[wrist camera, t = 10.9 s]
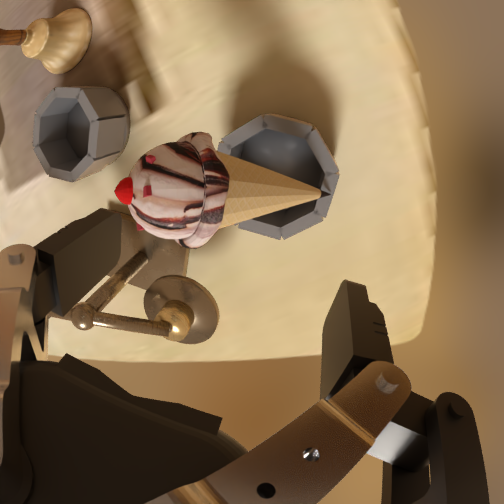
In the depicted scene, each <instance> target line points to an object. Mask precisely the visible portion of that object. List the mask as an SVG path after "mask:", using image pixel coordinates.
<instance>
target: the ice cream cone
mask: <svg viewBox="0 0 504 504" xmlns="http://www.w3.org/2000/svg"><path fill="white" fill-rule="evenodd" d="M114 192H115V194H116V196H117V198H118V199H119V200H120V201H121V202H122V203H124V204H127V205H128V208H129V210H130V212H131V214H132V216H133V218H134V219H135V220H136V222H137V231H140V230H146V231H147V232H149V233H151V234H153V235H155V236H157V237H160V238H165V239H174V240H175V241H176V242H177V243H179V244H180V245H181V246H183V247H185V248H191V249H196V248H199V247H201V246H203V245H204V244H205V243H206V242H207V241H208V240H209V239H210V238H211V237H212V236H213V235H214V234H215V233H216V231H217V230H218V229H220V228H223V227H227V226H230V225H233V224H236V223H239V222H242V221H246V220H249V219H252V218H255V217H259V216H262V215H265V214H268V213H272V212H275V211H278V210H282V209H285V208H288V207H292V206H295V205H298V204H302V203H305V202H308V201H312V200H315V199H319V198H322V197H325V196H329V195H331V194H330V193H327V192H325V191H322V190H320V189H317V188H315V187H313V186H310V185H308V184H305V183H303V182H300V181H298V180H295V179H293V178H290V177H287V176H285V175H282V174H280V173H277V172H274V171H272V170H269V169H266V168H264V167H261V166H258V165H256V164H253V163H250V162H247V161H244V160H242V159H239V158H236V157H233V156H230V155H227V154H224V153H222V152H219V151H216V150H215V148H214V146H213V143H212V137H211V136H210V134H209V133H204V132H194V133H190V134H188V135H185V136H183V137H182V138H180V139H179V140H178V141H177V142H170V143H166V144H162V145H160V146H157V147H155V148H153V149H151V150H150V151H148V152H147V153H146V154H144V155H143V156H142V157H141V158H140V159H139V160H138V161H137V162H136V164H135V165H134V166H133V168H132V170H131V172H130V174H129V177H127V178H124V179H123V180H121V181H120V182H119V184H118V185H117V187H116V189H115V191H114Z"/></svg>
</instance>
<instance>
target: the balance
mask: <svg viewBox="0 0 504 504" xmlns="http://www.w3.org/2000/svg"><path fill="white" fill-rule="evenodd" d="M111 211H113V210H111ZM114 212H116V211H114ZM118 213H120V212H118ZM120 215H121V217H122V229H121V254H120V258H119V261H118V263H117V265H116V266H115V267H114V268H113V269H112V270H111V271H110V272H109V273H108V274H107V275H108V276H110V278H109V279H108V280H107V281H106V282H105V283H104V284H103V285H102V286H101V287H100V288H99V289H98V290H97V291H95V292H94V293H93V294H92V295H91V296H90V297H89V298H88V299H87V300H86V301H85V302H80V303H77V304H76V305H75V306H74V307H73V308H72V309H71V310H70V311H69V312H68V313H67V314H66V315H65V316H64V317H61V316H59V315H57V314H56V313H54V312H52V311H50V312H49V313H48V314H47V317H48V319H49V318H50V317H55V318H60V319H65V320H70V321H72V323H73V325H74V326H75V327H76V328H78V329H80V330H89V329H91V328H92V327H93V326H94V325H95V326H101V327H107V328H112V329H118V330H124V331H131V332H137V333H144V334H151V335H158V336H163V337H164V338H166V339H168V340H171V341H177V342H180V343H185V344H197V343H201V342H204V341H206V340H207V339H209V338H210V337H211V336H212V335H213V333H214V332H215V330H216V327H217V325H218V322H219V309H218V306H217V303H216V301H215V299H214V298H213V296H212V295H211V294H210V292H209V291H208V290H207V289H206V288H205V287H203V286H202V285H201V284H200V283H198V282H196V281H195V280H193V279H190V278H188V277H186V272H187V264H188V257H189V250H190V248H185V247H183V246H181V245H180V244H179V243H177V242H176V241H175V240H174V239H165V238H160V237H157V236H155V235H153V234H151V233H149V232H147V231H146V230H140V231H137V222H136V220H135V219H134V218H133V216H130V215H126V214H123V213H120ZM127 283H129V284H131V285H134V286H137V287H139V288H142V289H145V290H147V291H146V293H145V296H144V309H145V312H146V315H147V317H148V319H149V320H147V319H140V318H134V317H127V316H121V315H115V314H109V313H103V312H101V311H102V310H103V309H104V308H105V306H106V305H107V304H108V303H109V302H110V301H111V300H112V299H113V298H114V297H115V296H116V295H117V294H118V293H119V292H120V291H121V289H122V288H123V287H124V286H125V285H126V284H127Z"/></svg>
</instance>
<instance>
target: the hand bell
mask: <svg viewBox="0 0 504 504" xmlns="http://www.w3.org/2000/svg"><path fill="white" fill-rule="evenodd" d="M91 35H92V24H91V20H90V17H89V15H88V14H87V13H86V12H85V11H84V10H82V9H79V8H72V9H68V10H65V11H63V12H61V13H60V14H58V15H57V16H56V17H54V18H41V19H37V20H35V21H34V22H32V23H31V24H30V25H29V26H28V28H27V29H26V30H3V29H0V45H22V51H23V53H24V55H25V56H27V57H29V58H35V59H39V60H41V61H42V63H43V65H44V67H45V68H46V69H47V70H48V71H50V72H51V73H54V74H62V73H65V72H68V71H69V70H71V69H72V68H74V67H75V66H76V65H77V64H78V63H79V62H80V60H81V59H82V58H83V56H84V55H85V53H86V51H87V49H88V46H89V43H90V40H91Z"/></svg>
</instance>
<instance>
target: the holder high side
mask: <svg viewBox="0 0 504 504" xmlns="http://www.w3.org/2000/svg"><path fill="white" fill-rule="evenodd" d="M129 133H130V118H129V113H128V109H127V107H126V104H125V102H124V101H123V99H122V98H121V96H120V95H119V94H118V93H116V92H115V91H114V90H112V89H110V88H108V87H102V86H97V87H96V86H69V87H55V88H53V89H52V91H51V92H50V93H49V94H48V96H47V97H46V98H45V100H44V101H43V102H42V103H41V105H40V106H39V107H38V109H37V110H36V114H35V116H34V130H33V147H35V148H34V149H33V150H34V152H35V153H36V155H37V157H38V159H39V161H40V163H41V165H42V166H43V168H44V170H45V172H46V174H47V175H48V174H49V177H53V178H57V179H61V180H65V181H69V182H75V181H77V180H80V179H82V178H84V177H87V176H89V175H92V174H94V173H97V172H99V171H101V170H102V169H103V168H105V167H106V166H107V165H109V164H111V163H113V162H114V161H115V160H116V159H117V158H118V157H119V156H120V155H121V154H122V152H123V150H124V149H125V147H126V144H127V141H128V138H129Z"/></svg>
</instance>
